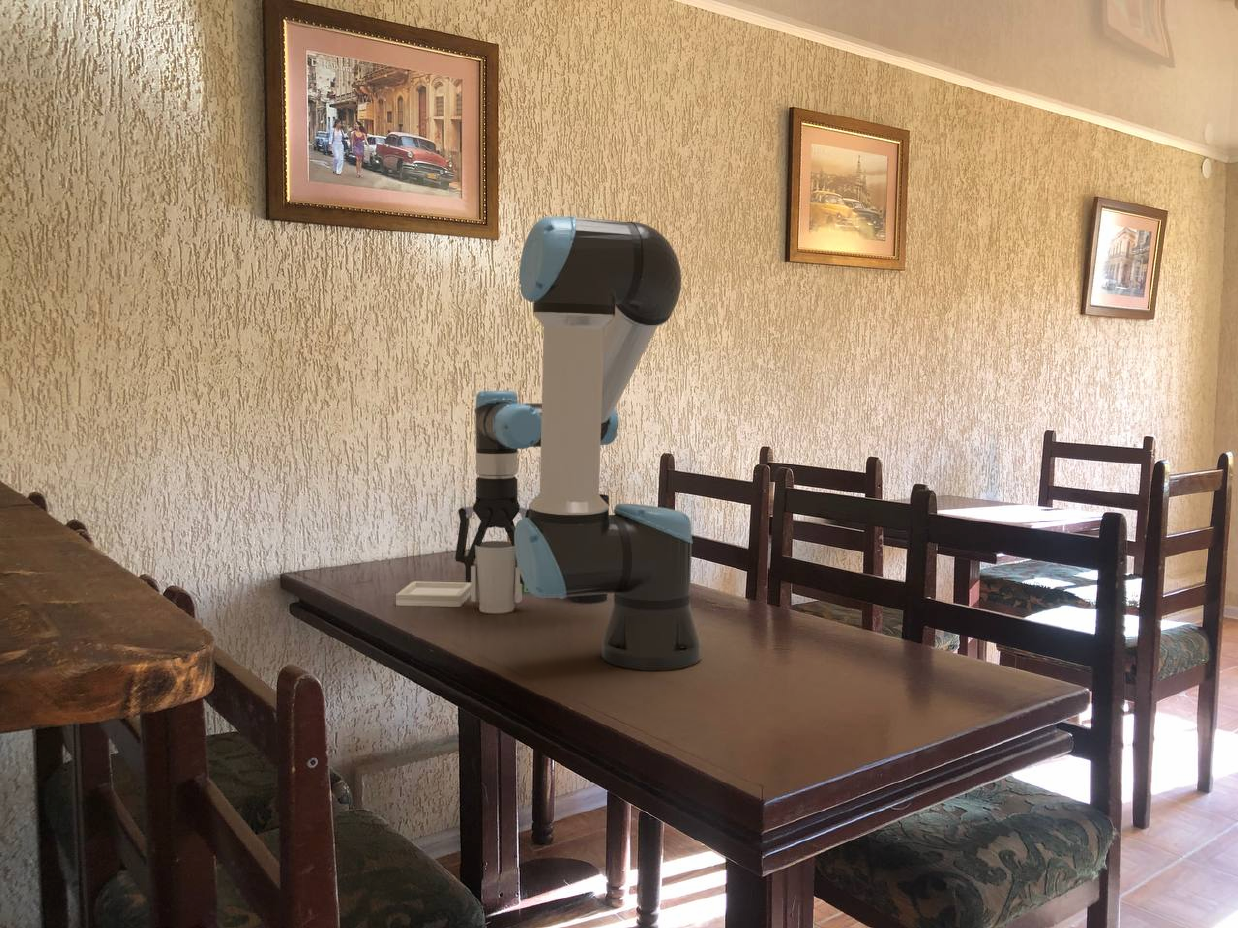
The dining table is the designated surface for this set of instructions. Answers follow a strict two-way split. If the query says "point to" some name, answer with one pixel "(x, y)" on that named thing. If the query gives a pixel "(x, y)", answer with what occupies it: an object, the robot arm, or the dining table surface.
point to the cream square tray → (434, 594)
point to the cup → (496, 576)
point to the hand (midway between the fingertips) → (496, 600)
